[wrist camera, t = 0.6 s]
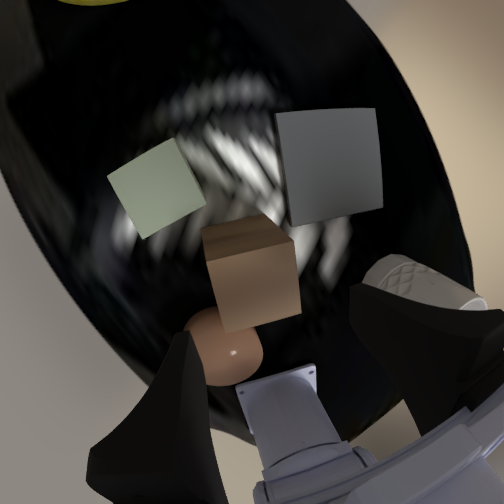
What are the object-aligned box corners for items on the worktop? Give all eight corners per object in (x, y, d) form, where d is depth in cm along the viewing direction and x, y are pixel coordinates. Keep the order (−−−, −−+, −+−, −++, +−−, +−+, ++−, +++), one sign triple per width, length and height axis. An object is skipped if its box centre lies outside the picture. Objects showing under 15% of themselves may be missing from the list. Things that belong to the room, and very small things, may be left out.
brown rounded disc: (259, 352, 24) (267, 375, 22) (194, 368, 24) (196, 392, 21) (247, 297, 22) (256, 318, 19) (173, 314, 21) (172, 338, 19)
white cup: (397, 229, 23) (482, 275, 14) (424, 279, 26) (490, 328, 17) (336, 293, 24) (404, 366, 15) (373, 333, 27) (429, 396, 18)
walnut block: (272, 270, 22) (301, 312, 16) (214, 285, 21) (225, 333, 16) (264, 213, 20) (293, 240, 14) (200, 227, 19) (206, 261, 14)
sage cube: (203, 192, 19) (206, 204, 15) (151, 220, 18) (142, 239, 15) (176, 139, 17) (172, 137, 13) (123, 169, 17) (106, 176, 13)
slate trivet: (379, 206, 22) (383, 207, 21) (290, 225, 21) (292, 227, 20) (371, 108, 19) (374, 108, 18) (273, 114, 17) (275, 113, 17)
